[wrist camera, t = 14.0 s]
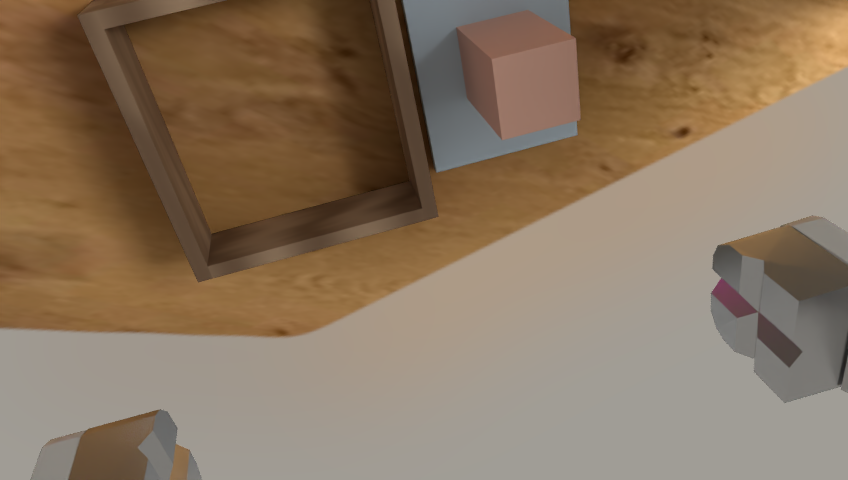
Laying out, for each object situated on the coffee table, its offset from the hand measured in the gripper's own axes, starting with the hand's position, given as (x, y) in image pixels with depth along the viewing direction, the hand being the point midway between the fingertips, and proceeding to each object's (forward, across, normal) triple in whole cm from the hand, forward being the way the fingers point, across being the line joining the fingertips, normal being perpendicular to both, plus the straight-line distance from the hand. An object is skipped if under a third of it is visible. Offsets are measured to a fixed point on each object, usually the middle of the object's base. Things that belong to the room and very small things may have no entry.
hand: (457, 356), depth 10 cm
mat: (+37, -11, +8) cm, 40 cm away
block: (+36, -12, +8) cm, 39 cm away
